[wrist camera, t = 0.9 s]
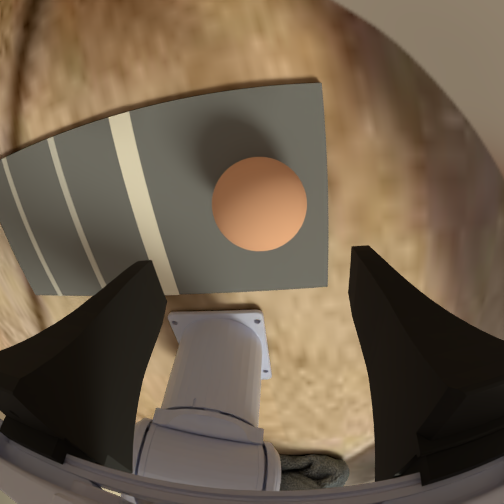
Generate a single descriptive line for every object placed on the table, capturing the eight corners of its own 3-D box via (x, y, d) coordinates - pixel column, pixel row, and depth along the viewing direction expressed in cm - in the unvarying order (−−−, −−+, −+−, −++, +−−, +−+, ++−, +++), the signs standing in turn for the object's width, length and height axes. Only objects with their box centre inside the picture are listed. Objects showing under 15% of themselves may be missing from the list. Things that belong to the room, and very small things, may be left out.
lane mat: (326, 283, 22) (327, 287, 22) (37, 292, 26) (35, 295, 25) (320, 82, 15) (321, 82, 15) (-16, 168, 18) (-20, 169, 18)
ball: (304, 220, 19) (312, 267, 15) (227, 226, 20) (213, 273, 16) (299, 143, 17) (309, 169, 12) (213, 152, 17) (193, 181, 13)
